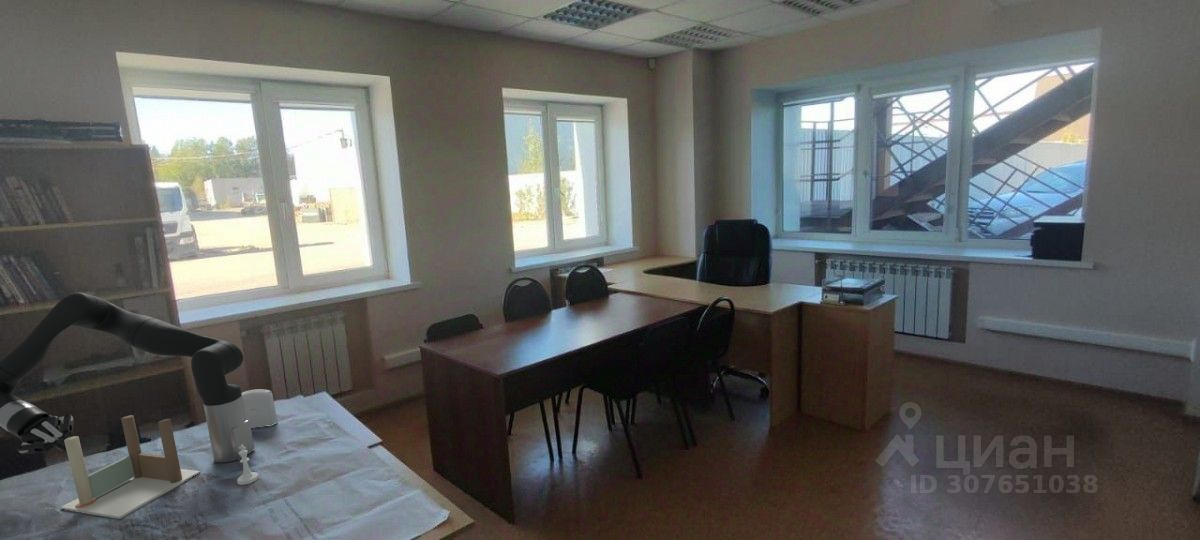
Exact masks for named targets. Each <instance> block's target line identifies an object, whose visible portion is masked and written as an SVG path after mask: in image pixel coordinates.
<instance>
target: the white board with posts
mask: <svg viewBox="0 0 1200 540" xmlns="http://www.w3.org/2000/svg"><path fill="white" fill-rule="evenodd" d="M120 420H121V425H122V429H123V433H124V439H125V444H126V447H127V452H128V456H130V457H131V461H132V466H133V470H134V475H135V477H133V478H131V479H129V480H128V481H126V482H124V483H122V484H120V485H118V486H116V487H114V488H112V489H110V490H109V491H107V492H105V493H103V494H101V495H99V496H97V497H95V498H93V501H91V502H89V503H87V504H83V505H80V503H79V499H78V498H76V499H73V500H72V501H69V502H68V503H66V504H64V505H61V506H60V510H62V509H65V510H64V511H68V510H69V512H74V511H75V513H80V512H81V513H82V514H88V515H93V516H98V517H105V518H112V519H116V520H120V519H122V518H125V517H126V516H128V515H130V514H131V513H133V512H134V511H136V510H138V509H140V508H143V506H145V505H147V504H149V503H151V502H153V501H154V500H155V499H158V498H160V497H161V496H163V495H165V494H166V493H168V492H170V491H172V490H174V489H175V488H177V487H179V486H180V485H182V484H183V483H186V482H188V481H189V480H191V479H193V478H194V477H196V476H198V475H199V474H198V473H200V474H201V471H200V470H192V469H185V468H181V465H180V460H179V456H178V451H177V444H176V441H175V436H174V431H173V427H172V426H173V425H172V422H171V421H172V420H171V418H164V419H161V420H159V421H158V422H157V425H158V430H159V434H160V439H161V444H162V448H163V452H164V455H162V454H155V453H154V454H153V453H146V452H142V450H141V448H142V447H141V443H140V439H139V435H138V430H137V426H136V425H137V424H136V421H135V417H134V415H131V414H130V415H126V416H123V417H121V418H120ZM197 474H198V475H197ZM195 475H196V476H195ZM193 476H194V477H193ZM192 477H193V478H192ZM190 478H191V479H190ZM188 479H189V480H188ZM185 481H186V482H185Z"/></svg>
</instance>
